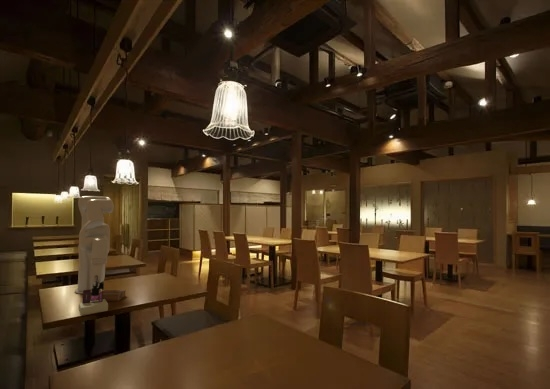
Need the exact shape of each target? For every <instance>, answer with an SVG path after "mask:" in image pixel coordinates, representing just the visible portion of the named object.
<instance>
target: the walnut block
mask: <svg viewBox="0 0 550 389" xmlns="http://www.w3.org/2000/svg"><path fill="white" fill-rule="evenodd" d="M125 296H126V289H104V290H103V299H105V300H106V301H107V302H118V301H120V300H122V299H123V298H124V297H125ZM99 299H100V292H99V297H98V298H97V299H96V300H99ZM101 300H102V299H101Z"/></svg>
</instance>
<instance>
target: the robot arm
mask: <svg viewBox="0 0 550 389" xmlns="http://www.w3.org/2000/svg"><path fill="white" fill-rule="evenodd" d="M77 203H78V205H77V206H78V210H79V212H80V216H81V228H80V231H79V234H78V239H79V240H78V242H79V243H78V246H77V251H78V278H77V279H78V280H77V288H76V289H74V293H75V294H81V295H83V290H91V289H92V290H91V293H90V294H91V296H98V295H99V293H100V291H99V289H102V288H103V291H104V290H105V289H104V285H105V283H104V282H105V281H104V280H105V279H106V276H105V275H106V265H107V264H108V254H109V252H110V250H111V249H110V248H111V227H110V225H109V224H108V223H105V218H104V214H111V213H113V212H114V208H115V207H114V206H115V205H114V202H113V199H111V198H110V197H109V196H101V195H100V196H99V195H97V196H96V195H83V196H81V197H79V198H78V200H77Z"/></svg>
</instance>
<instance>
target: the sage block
mask: <svg viewBox="0 0 550 389" xmlns="http://www.w3.org/2000/svg"><path fill="white" fill-rule="evenodd" d="M97 301H99V300H90V302H95V303H86V304H82V302H83V301H82V302H79V303H78V312H79V314H80V316H82V315H88V314H96V313H102V312H107V311H108V310H109V303H108V301H106V300H105V299H103V300H100V301H102V302H97Z"/></svg>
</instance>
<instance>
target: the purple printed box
mask: <svg viewBox="0 0 550 389" xmlns="http://www.w3.org/2000/svg"><path fill="white" fill-rule="evenodd" d="M91 290H92V289H91ZM91 290H83V294H82V304H86V303H95V302H90V301H95V300H96V299H97V298H98V297H99V295H98V296H92V295H91V294H92V293H91ZM103 291H104V290H103V288H102V289H99V293H100V299H99V301H97V302H102V301H100V300H101V299H102V300H103Z"/></svg>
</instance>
